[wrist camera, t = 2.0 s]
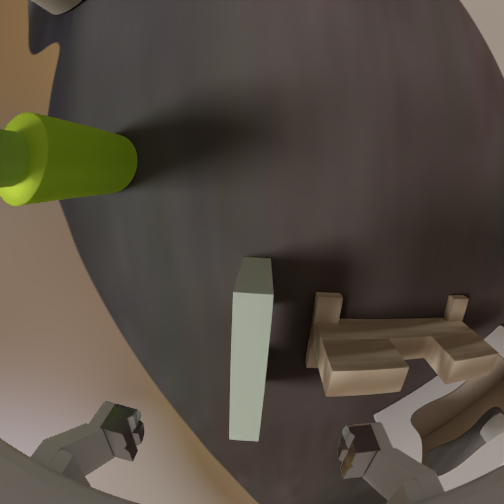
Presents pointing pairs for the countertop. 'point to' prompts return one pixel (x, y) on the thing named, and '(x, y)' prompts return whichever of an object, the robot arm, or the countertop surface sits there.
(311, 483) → the countertop surface
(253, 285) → the grey-green rectangular slab
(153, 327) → the countertop surface
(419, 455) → the gable box
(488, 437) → the white plastic bottle
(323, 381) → the wooden peg bench
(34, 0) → the travel mug
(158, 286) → the countertop surface
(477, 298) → the countertop surface
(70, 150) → the soap dispenser
